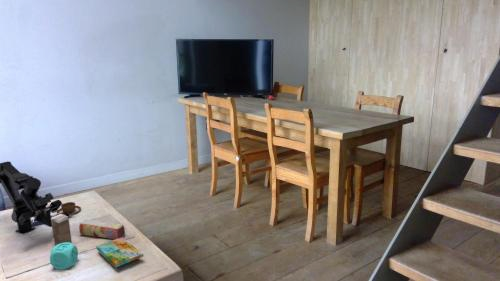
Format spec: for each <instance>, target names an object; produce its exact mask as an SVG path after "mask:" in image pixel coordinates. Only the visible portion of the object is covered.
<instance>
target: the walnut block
mask: <svg viewBox="0 0 500 281" xmlns="http://www.w3.org/2000/svg"><path fill="white" fill-rule="evenodd" d="M51 224H52V227H51V228H52V229H51V230H52V236H53V243H54V246H56V245H58V244H60V243H65V242H69V243H72V244H73V242H72V241H73V240H72V234H71V227H70V226H71V225H70V219H69V216H66V215H63V214H59V215H58V214H57V215H55V216H53V217H52V216H51Z"/></svg>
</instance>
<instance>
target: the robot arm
mask: <svg viewBox="0 0 500 281" xmlns="http://www.w3.org/2000/svg"><path fill="white" fill-rule="evenodd" d="M0 184H1V186H2V188H3V190H4V192H5V193H6V194H7V196H8V198H9V200H10V201H11V203H12V205H13V208H12V214H11V217H10V218H11V220H12V221H13V222H14V223H16V225H17V229H16V230H14V232H15V233H18V234H21V235H24V234H25V235H26V234H27V233H29V232H32V231H34V230H36V227H34V226H33V223H32V218H33V222H38V223H41V224H42V225H45V226H47V227H49V228H52V224H51V218H52V216H51V215H52V214H51V213H52V212H54V211H56V210H59V209H60V208H61V205H62V204H63V202H62V201H61V200H60V199H56V200H54V196H53V194H52V193H51V192H48V193H47V194H45V195H44V197H43V196H41V195H40V196H39V195H38V192H39V190H40V187H41V184H42V181H41V180H40V179H38V178H36V177H33V175H29V174H27V173H25V172H20V171H19V170H18V169H17V168H16V167H15V166H14V165H13V164H12V162H11V161H5V162H4V161H3V162H0ZM20 190H21V191H20ZM52 200H54V201H52ZM49 203H50V204H49Z"/></svg>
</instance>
